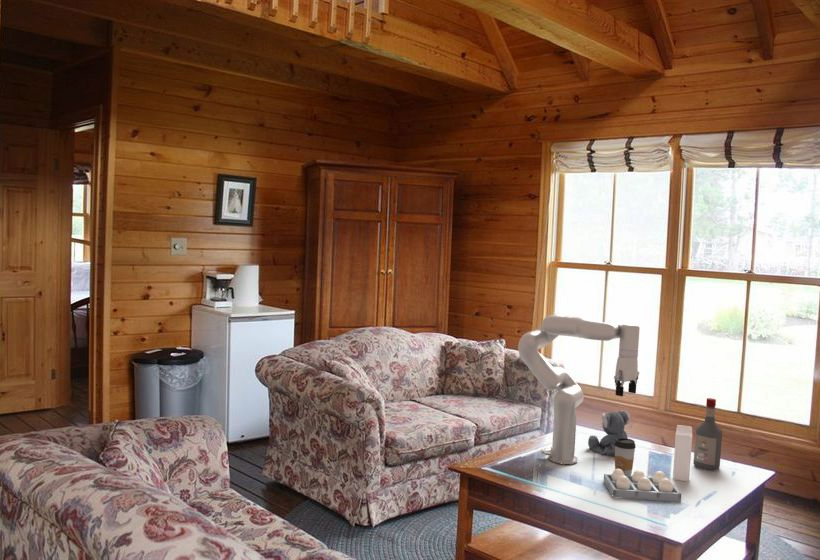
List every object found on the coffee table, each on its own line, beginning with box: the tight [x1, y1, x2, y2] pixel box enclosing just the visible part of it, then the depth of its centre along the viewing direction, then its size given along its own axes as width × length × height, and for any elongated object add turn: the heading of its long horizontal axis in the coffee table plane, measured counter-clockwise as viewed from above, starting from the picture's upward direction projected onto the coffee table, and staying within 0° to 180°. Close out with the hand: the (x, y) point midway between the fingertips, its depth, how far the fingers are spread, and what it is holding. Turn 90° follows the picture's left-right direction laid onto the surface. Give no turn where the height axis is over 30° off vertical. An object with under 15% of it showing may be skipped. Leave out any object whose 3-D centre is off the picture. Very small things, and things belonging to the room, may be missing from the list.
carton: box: [603, 468, 683, 502], centre depth 269 cm, size 25×17×7 cm
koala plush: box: [587, 409, 631, 457], centre depth 315 cm, size 17×18×20 cm
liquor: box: [693, 397, 723, 472], centre depth 300 cm, size 9×9×30 cm
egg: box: [659, 477, 674, 492], centre depth 264 cm, size 5×5×6 cm
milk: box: [672, 424, 693, 482], centre depth 285 cm, size 6×6×22 cm
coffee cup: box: [614, 438, 636, 476], centre depth 285 cm, size 8×8×15 cm
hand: (625, 394), depth 287 cm, fingers open, 9 cm apart
